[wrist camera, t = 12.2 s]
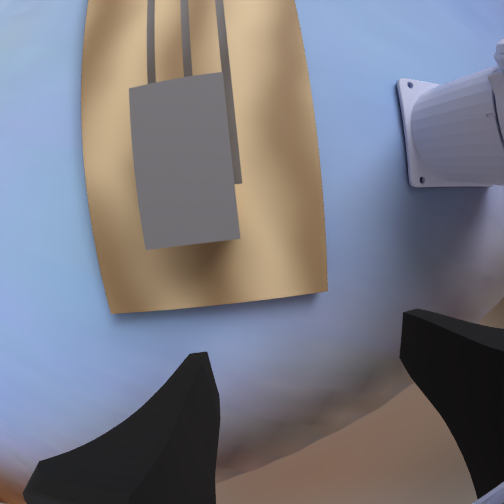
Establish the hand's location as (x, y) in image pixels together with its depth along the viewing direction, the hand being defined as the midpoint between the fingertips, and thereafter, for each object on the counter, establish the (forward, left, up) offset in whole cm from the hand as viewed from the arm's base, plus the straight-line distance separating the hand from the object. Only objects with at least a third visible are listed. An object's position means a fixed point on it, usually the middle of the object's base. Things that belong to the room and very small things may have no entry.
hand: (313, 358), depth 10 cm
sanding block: (+4, -7, -8) cm, 12 cm away
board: (+4, -12, -10) cm, 16 cm away
